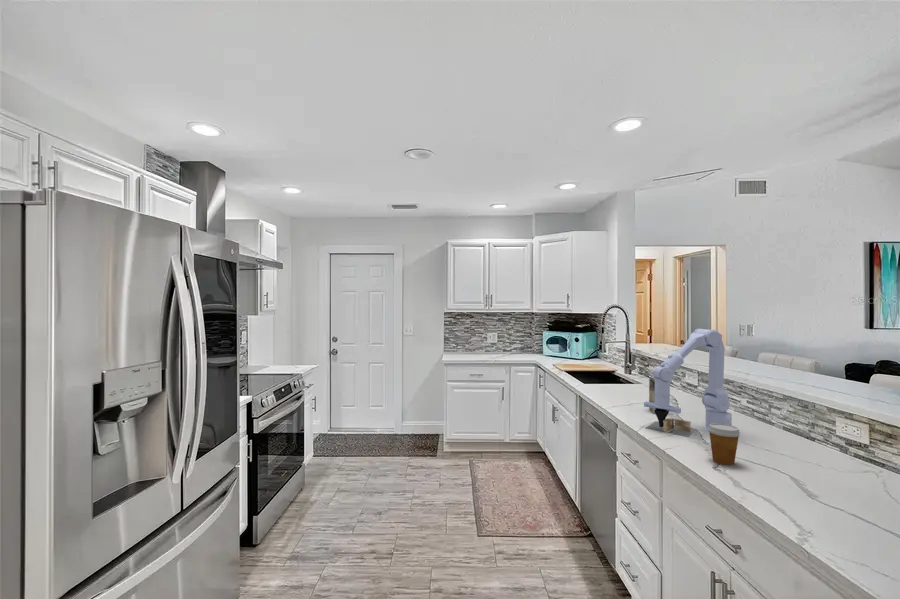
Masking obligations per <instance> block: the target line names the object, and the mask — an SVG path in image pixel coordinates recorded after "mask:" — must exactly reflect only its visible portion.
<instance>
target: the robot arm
mask: <svg viewBox="0 0 900 599" xmlns="http://www.w3.org/2000/svg"><path fill="white" fill-rule="evenodd" d="M703 346H704V347H705V348H706V349H707V350H708V351H709V357H708V358H709V360H708V378H707V380H708V384H707V387H706V388H705V389H704V390H703V395H702V397H701V402H702V404H703V406H704V409H705V426H704V427H703V429H702V430H703V431H706V432H709V430H708V427H709V425H710V424H713V423H718V424H727V425H731V426H733V423H732V422H733V420H732V419H733V418H732V413H731V412H728V410H729V409H730V406H731V403H730V400H729V394H728V393H727V392H726V390H725V389H724V380H725V379H724V377H725V375H724V374H725V350H726V349H725V345H724V341H723V335H722V334H721V333H720V332H719V331H718V330H715V329H706V328H705V329H704V328H699V327H698V328H696V329H695V330H694V331H693V332H692V333H691V334H690V336H689V338H688V339H687V340H686V341H685V342H684V344H683V345H682V346H681V347H680V348H679V349H678V351H677V352H676V353H673V352H672V353H671V354H668V355H667V358H666V359H665V360H664V361H663V362H661V363H660V365H658V366H655V367H654V369H653V371H652V372H651V374H652V377H653V379H655V403H651V402H649V401H644V402H643V407H644V408H649V407H650V408H655V410H654V412H655V414H654V415H655V416H656V418H657V420H658V421H657V422H659V427H663V426H664V422H663V420H665V419H667V416H668V415H669V414H670V412H671V413H676V414H677V415H678V414H682V408H680V407H677V406H672V405H670V402H671V401H670V400H671V399H670V396H671V395H670V394H671V393H670V391H671V390H670V389H671V388H670V386H671V380H672V379H673V378H674V374H675V373H676V371H677V370H678V369H679V368H680V367H681V366H682V365H683V364H684V361H685V360H684V358H686V357H687V356H688V355H689V354H691V353H692V352H693V351H694V350H695V349H696V348H697V347H703Z"/></svg>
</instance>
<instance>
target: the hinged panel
mask: <svg viewBox="0 0 900 599" xmlns="http://www.w3.org/2000/svg"><path fill="white" fill-rule="evenodd" d="M674 419H675V418H674V417H668V418H666V419H665V420H663V422H664V427H663V431H668V430H670V429H672V428H674Z"/></svg>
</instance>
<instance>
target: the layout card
mask: <svg viewBox="0 0 900 599" xmlns="http://www.w3.org/2000/svg"><path fill="white" fill-rule="evenodd" d="M663 427H664V426H663ZM663 427H659V421H654V422H652V423H650V424H649V425H647V426H646V427H645V429H646V430H647V429H648V430H652V431H657V432H662V433H665V434H666V433H667V434H671V435H677V436H682V437H687V438H689V437H690V436H692V435H693V434H694V433H695V432H697V431H698V430H699V429H697V428H692V427H691V432H686V431H681V430H676V429H674V428H672V429H670V430H668V431H663Z"/></svg>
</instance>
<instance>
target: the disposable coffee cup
mask: <svg viewBox="0 0 900 599" xmlns="http://www.w3.org/2000/svg"><path fill="white" fill-rule="evenodd" d="M708 430H709V431H708V433H709V441H710V448H711V456H712V461H713V462H715V463H716V464H719V465H724V464H725V466H732V465H735V461H736V457H737V456H736V455H737V449H738V445H739V444H738V443H739V438H740V435H741V431H740V428H738V427H737V426H734V425H732V426H731V425H727V424H718V423H713V424H710V425H709V427H708Z"/></svg>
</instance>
